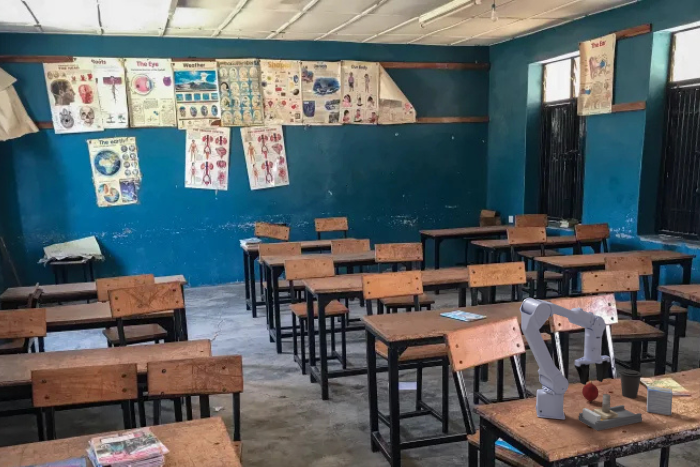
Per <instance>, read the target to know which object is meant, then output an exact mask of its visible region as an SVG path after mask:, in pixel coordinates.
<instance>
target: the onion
mask: <svg viewBox="0 0 700 467" xmlns="http://www.w3.org/2000/svg"><path fill="white" fill-rule="evenodd" d="M581 393H582V396H583V397H584V399H585V400H586V401H588V402H589V401H590V402H593V401H595V400H596V399H597V398H598V397H599V389H598V387H597V386H596V385H595V384H594V383H593V382H592V380H590V381H588V383H586V385H584V386H583V387H582V390H581Z"/></svg>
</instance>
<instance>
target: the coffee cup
mask: <svg viewBox="0 0 700 467" xmlns="http://www.w3.org/2000/svg"><path fill="white" fill-rule="evenodd" d="M619 375H620V385H621V395H622V396H623V397H625V398H628V399H636V398H638V395H639V389H640V382H641V379H642V378H641V377H642V376H643V374H642V373H641V372H640V371H638V370H634V369H629V368H626V369H621V370H619Z"/></svg>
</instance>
